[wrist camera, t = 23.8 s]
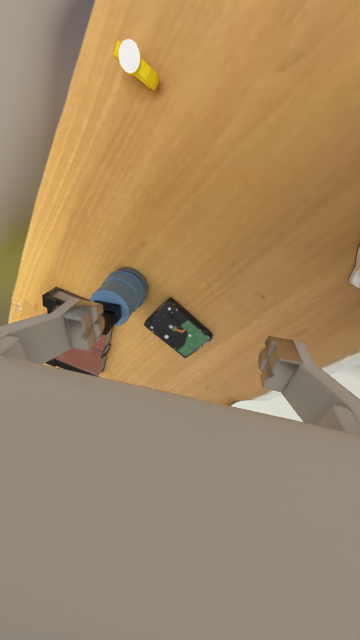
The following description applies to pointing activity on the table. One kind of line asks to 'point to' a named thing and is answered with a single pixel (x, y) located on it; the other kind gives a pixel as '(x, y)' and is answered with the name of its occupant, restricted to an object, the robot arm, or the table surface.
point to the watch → (135, 63)
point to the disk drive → (178, 328)
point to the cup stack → (123, 291)
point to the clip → (109, 315)
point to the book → (75, 358)
